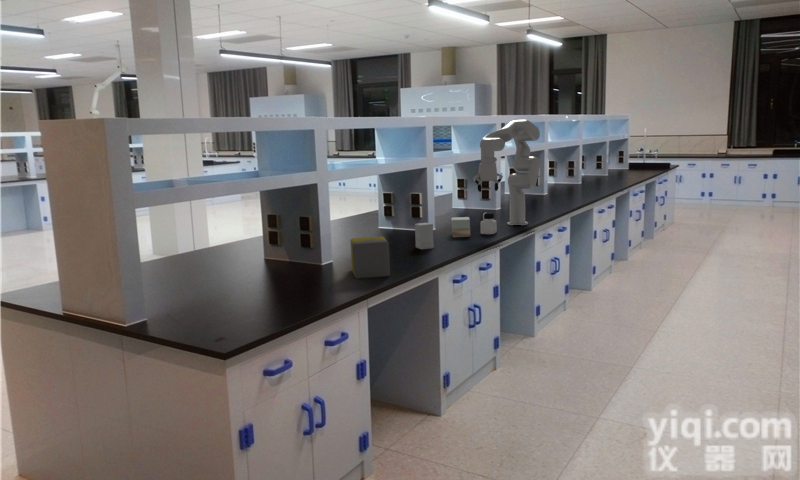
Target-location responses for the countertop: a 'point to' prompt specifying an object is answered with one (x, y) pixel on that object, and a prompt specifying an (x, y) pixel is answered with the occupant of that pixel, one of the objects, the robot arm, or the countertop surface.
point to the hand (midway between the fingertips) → (488, 191)
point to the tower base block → (461, 232)
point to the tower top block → (460, 222)
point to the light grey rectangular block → (488, 224)
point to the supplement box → (424, 235)
